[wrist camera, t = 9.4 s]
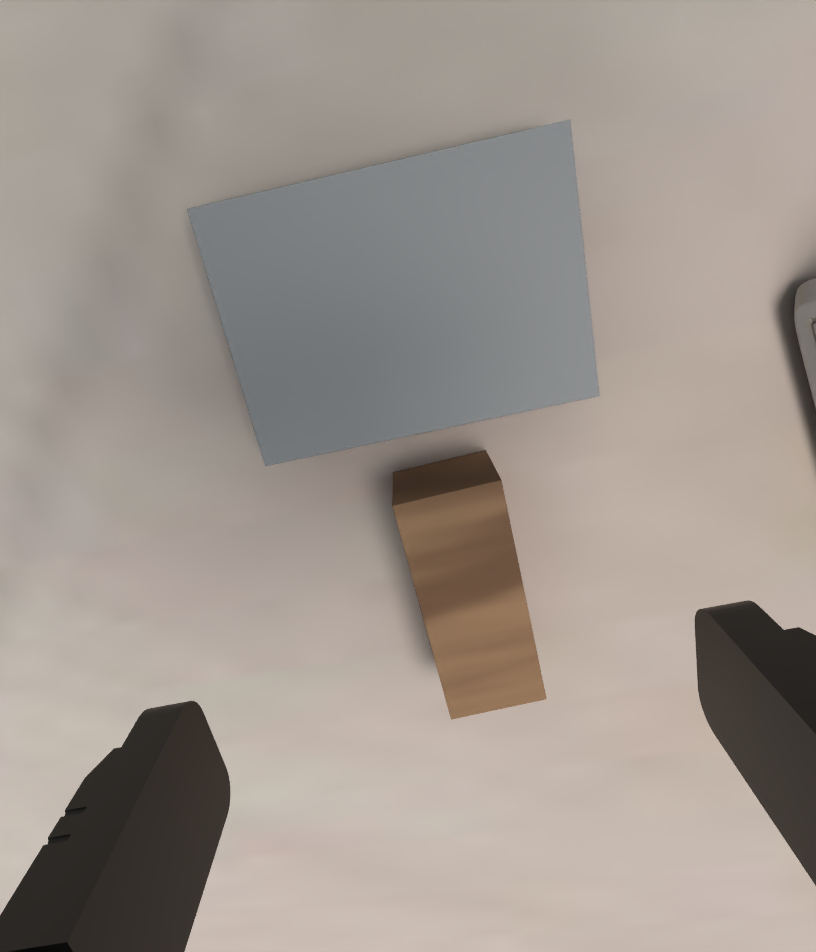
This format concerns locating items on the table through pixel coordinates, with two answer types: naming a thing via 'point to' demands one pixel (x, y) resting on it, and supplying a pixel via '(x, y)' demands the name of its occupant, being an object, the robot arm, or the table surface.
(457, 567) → the walnut block
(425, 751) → the table surface
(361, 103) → the table surface
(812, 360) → the digital clock
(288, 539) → the table surface
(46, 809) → the table surface
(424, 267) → the grey board
